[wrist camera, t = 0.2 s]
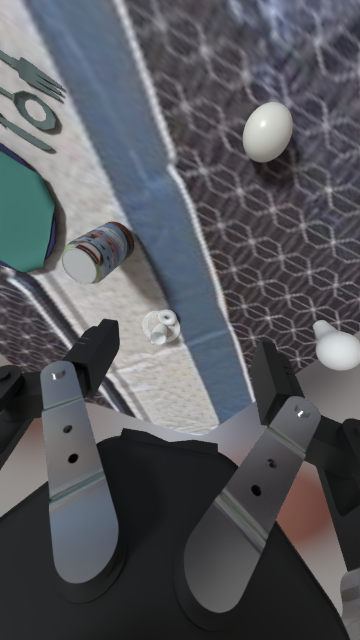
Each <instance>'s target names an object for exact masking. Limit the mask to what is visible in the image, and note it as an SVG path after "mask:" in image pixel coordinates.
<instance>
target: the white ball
mask: <svg viewBox="0 0 360 640" xmlns="http://www.w3.org/2000/svg"><path fill="white" fill-rule="evenodd" d="M292 129H293V122H292V117H291V114H290V112H289V110H288V109H287V108H286V107H285V106H284V105H282V104H280V103H276V102H270V103H266V104H264V105H262V106H260V107H259V108H257V109H256V110H255V111H254V112H253V113H252V115H251V116H250V117H249V119H248V121H247V123H246V125H245V128H244V133H243V146H244V149H245V152H246V153H247V155H248V156H249V157H250V158H251V159H252V160H254V161H257V162H268V161H271V160H273V159H275V158H276V157H278V156H279V155H280V154H281V153H282V152H283V151H284V149H285V148H286V146H287V145H288V143H289V140H290V138H291V135H292Z"/></svg>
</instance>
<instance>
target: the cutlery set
mask: <svg viewBox="0 0 360 640" xmlns="http://www.w3.org/2000/svg"><path fill="white" fill-rule="evenodd" d="M0 58H2V59H3V60H5V61H6V62H8V63H9V64H11V67H13V68H15V69H17V70H18V73H19V77H20V78H21V79H23V80H25V81H26V82H28V83H30V84H32V85H34V86H36V87H37V88H39V89H41V90H43V91H44V92H46V93H48V94H50V95H52V96H53V97H55V98H57V99H59V100H60V98H59V97H58V96H57V95H55V94H54V93H53V92H51V91H50V90H48V89H47V88H46V87H44V86H43V85H45V86H47V87H48V88H50V89H52V90H54V91H55V92H57V93H59V94H61V92H60V91H58V90H57V89H56V88H54V87H53V86H52V85H50V84H49V83H48V82H46V81H45V80H44V79H46V80H47V81H49V82H51V83H53V84H54V85H56V86H58V87H60V88H61V89H62V86H61V85H59V84H58V83H57V82H55V81H54V80H53V79H51V78H50V77H48V76H47V75H46V74H44V73H43V72H42V71H40V70H39V69H38V68H37V67H35V66H34V65H33V64H32V63H30V62H29V61H27V60H26V59H24V58H22V57H21V58H20V60H19V61H18V60H17V59H15V58H13V57H12V58H11V57H10V56H8V55H7V54H5V53H4V52H2V51H1V50H0ZM38 75H39V76H38ZM41 77H42V78H44V79H42V78H41ZM39 82H40V83H41V84H40V83H39ZM42 84H43V85H42ZM0 92H1V93H3V94H5V95H7V96H8V97H10V98H12V101H13V103H14V105H15V106H16V108H17V110H18V111H19V113H20V115H21V116H22V117H24V118H25V119H26V120H27V121H28V122H29V123H31V124H32V125H33V126H36V127H39V128H41V129H44V130H47V129H52V128H54V127H55V121H56V119H55V117H54V115H53V114H52V112H51V110H50V108H49V107H48V106H47V105H46V104H45V103H44V102H43V101H42V100H41V99H40V98H38V97H37V96H36V95H34V94H31V93H29V92H26V91H19V92H16V93H13V94H10V93H9V92H7V91H6V90H4V89H3V88H1V87H0ZM29 99H31V100H34V101H37V102H38V103H39V104H40V105H41V106H42V107H43V109H44V111H45V113H46V120H44V121H41V122H40V121H37V120H34V119H33V118H32V117H31V116H30V115H29V114H28V112H27V110H26V108H25V101H27V100H29ZM0 123H3V124H4V125H5V126H7V127H8V128H9V129H10V130H12V131H13V132H15V133H16V134H18V135H19V136H21V137H23V138H24V139H26V140H28V141H29V142H31V143H33V144H34V145H36V146H38V147H39V148H42V149H45V150H51V149H52V147H50V146H49V145H47V144H45V143H44V142H42V141H40V140H39V139H37V138H35V137H34V136H32V135H31V134H29V133H27V132H26V131H24V130H22V129H21V128H19V127H17V126H16V125H14V124H12V123H11V122H9V121H7V120H6V119H4V118H3V117H1V113H0ZM54 208H55V203H54V201H53V199H52V198H51V196H50V194H49V192H48V190H47V188H46V186H45V184H44V181H43V179H42V178H41V176H40V175H38V174H37V173H35V172H34V171H32V170H31V169H30V168H29V167H28V165H27V164H26V163H25V162H24V161H23V160H22V159H21V158H20V157H19V156H17V155H16V154H15V153H13V152H12V151H11V150H10V149H8V148H7V147H6V146H4V145H3V144H2V143H0V265H2V266H5V267H8V268H13V269H16V270H19V271H21V272H31V271H33V270H36V269H40V268H43V263H44V260H46V259H47V258H48V257H49V256H50V254H51V252H52V249H53V247H54V245H55V242H56V220H55V216H54Z"/></svg>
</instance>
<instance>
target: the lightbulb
mask: <svg viewBox="0 0 360 640" xmlns="http://www.w3.org/2000/svg"><path fill="white" fill-rule="evenodd" d="M313 329H314V331H315V334H316V337H317V340H318V342H317V346H316V353H317V357H318V358H319V360H320V361H321V362H322V363H323V364H324V365H325V366H327V367H329V368H331V369H334V370H339V371H345V370H350V369H352V368H354V367H356V366H357V365H358V364H359V363H360V342H359V340H358V339H356V338H355V337H354V336H352V335H351V334H348V333H345V332H341V331H338V330H336V329H335V328H334V327H333V326H331V325H329V323H327V322H326V321H325V320H319V321H317V322H315V323H314V325H313Z"/></svg>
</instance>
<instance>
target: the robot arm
mask: <svg viewBox="0 0 360 640" xmlns="http://www.w3.org/2000/svg"><path fill="white" fill-rule="evenodd" d="M119 345H120V339H119V326H118V321H117V320H110V319H103V320H102V321H101V323H100V324H99V325H98V327H97V326H93V327H91V328H89V329H88V330H86V331H85V332H84V333H83V335H82V336H81V338H79V340H78V341H77V343H75V345H74V346H73V347H72V348H71V350H70V351H69V352H68V353H67V355H66V356H65V357H64V358H63V360H62V361H58V362H54V363H52V364H49V365H48V366H46V367H45V368H44V369H43V370H42V371H40V372H31V373H22V371H21V369H20V368H19V367H18V366H15V365H6V366H1V367H0V470H1V468H2V467H3V465H4V463H5V462H6V460H7V459H8V457H9V456H10V454H11V453H12V451H13V450H14V448H15V447H16V445H17V444H18V442H19V441H20V439H21V438H22V436H23V435H24V433H25V431H26V430H27V428H28V427H29V425H30V424H31V422H32V421H33V419H34V418H40V417H42V423H43V432H44V442H45V452H46V463H47V472H48V481H47V482H46V483H44V484H43V485H42V486H40V487H39V488H38V489H37V490H35V491H34V492H33V493H32V494H30V495H29V496H28V497H26V498H25V499H24V500H22V501H21V502H20V503H18V504H17V505H16V506H14V507H13V508H12V509H11V510H9V511H8V512H7V513H5V514H4V515H3V516H2V517H0V640H360V420H357V419H346V420H345V421H344V422H343V423H342V424H341V423H339V422H336V421H334V420H332V419H329V418H327V417H324V416H322V415H321V414H320V412H319V410H318V409H317V407H316V406H315V405H314V404H313V403H312V402H310V401H309V400H307V399H305V397H304V395H303V392H302V390H301V387H300V385H299V383H298V380H297V378H296V376H295V373H294V370H293V368H292V365H291V363H290V361H289V360H288V359H287V357H286V356H285V355H284V354H282V353H278V351H277V349H276V346H275V344H274V343H270V342H263V341H259V343H258V345H257V348H256V351H255V354H254V356H253V359H252V362H251V376H252V381H253V386H254V391H255V396H256V401H257V407H258V412H259V417H260V422H261V425H266V426H267V428H266V429H265V430H264V432H263V433H262V435H261V436H260V438H259V439H258V441H257V442H256V443H255V445H254V446H253V448H252V449H251V450H250V452H249V453H248V455H247V456H246V458H245V459H244V461H243V462H242V463H241V465H240V466H239V467H238V466H237V465H236V464H235V463H234V462H233V461H232V460H231V459H229V458H228V457H226V456H225V455H223V454H221V453H219V452H218V444H216V443H210V442H204V441H198V440H187V441H177V442H167V441H165V440H163V439H161V438H158V437H156V436H154V435H151V434H150V433H147V432H144V431H138V430H132V429H126V428H123V430H122V433H121V436H114V437H111V438H108V439H105V440H103V441H101V442H99V443H97V444H96V442H95V439H94V435H93V432H92V427H91V424H90V420H89V417H88V413H87V409H86V406H85V402H84V399H85V397H86V396H88V397H94V396H95V394H96V392H97V390H98V388H99V386H100V384H101V383H102V381H103V379H104V377H105V375H106V373H107V371H108V369H109V367H110V366H111V364H112V362H113V360H114V358H115V356H116V354H117V352H118V350H119ZM303 461H307V462H309V463H311V464H313V465H315V466H316V468H317V471H318V474H319V478H320V481H321V484H322V488H323V491H324V494H325V497H326V501H327V504H328V508H329V511H330V514H331V517H332V521H333V524H334V527H335V531H336V534H337V537H338V541H339V544H340V548H341V551H342V554H343V557H344V561H345V564H346V567H347V571H348V572H347V573H346V574H344V576H343V577H342V579H341V585H340V591H341V598H342V604H343V612H342V618H341V617H340V615H339V613H338V612H337V609H336V608H335V606H334V604H333V603H332V601H331V600H330V599H329V597H328V595H327V594H326V593H325V591H324V590H323V588H322V587H321V585H320V584H319V582H318V581H317V579H316V578H315V577H314V575H313V573H312V572H311V571H310V569H309V568H308V566H307V565H306V564H305V562H304V560H303V559H302V558H301V556H300V555H299V553H298V552H297V550H296V549H295V547H294V546H293V545H292V543H291V542H290V540H289V539H288V537H287V536H286V534H285V533H284V531H283V530H282V529H281V527H280V526H279V524H278V523H277V521H276V518H277V516H278V513H279V512H280V510H281V507H282V505H283V503H284V501H285V499H286V497H287V495H288V493H289V490H290V488H291V486H292V484H293V482H294V480H295V478H296V476H297V473H298V471H299V469H300V467H301V465H302V463H303Z"/></svg>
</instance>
